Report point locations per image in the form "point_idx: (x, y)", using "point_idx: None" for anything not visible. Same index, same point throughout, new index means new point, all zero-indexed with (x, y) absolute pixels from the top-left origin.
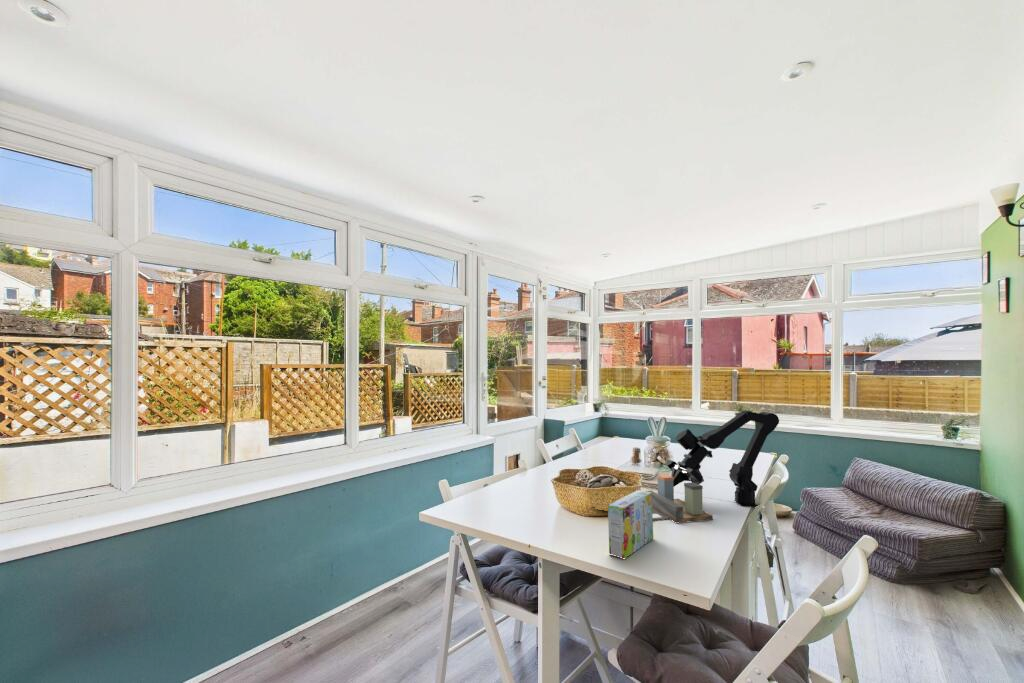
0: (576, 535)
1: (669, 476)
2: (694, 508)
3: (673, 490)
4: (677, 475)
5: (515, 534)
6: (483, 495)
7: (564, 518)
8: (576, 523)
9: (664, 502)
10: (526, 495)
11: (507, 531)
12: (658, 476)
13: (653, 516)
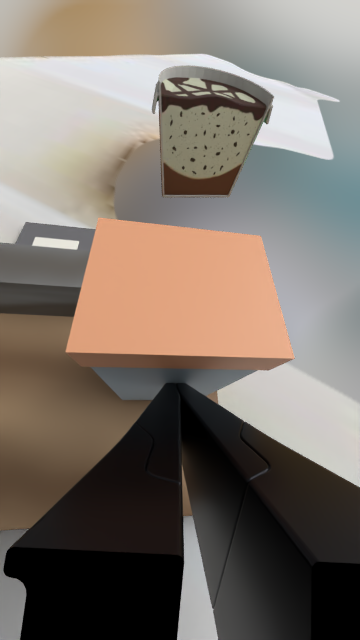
0: (40, 94)
1: (151, 322)
2: None
3: (110, 386)
4: (79, 490)
5: (95, 63)
6: (297, 101)
7: (143, 117)
8: (105, 117)
9: (2, 246)
10: (302, 133)
11: (112, 64)
12: (227, 241)
13: (47, 246)
